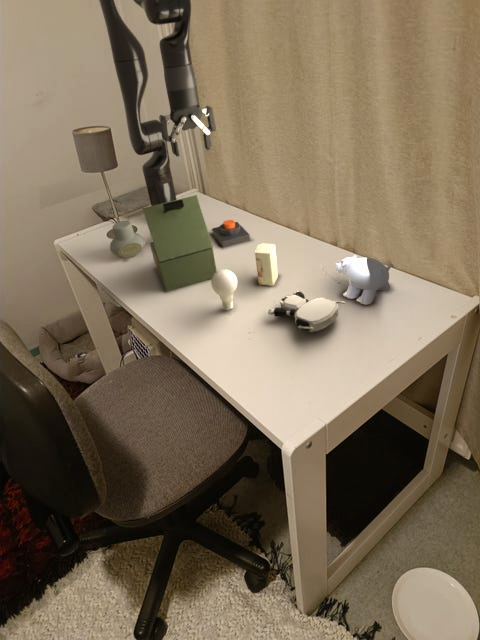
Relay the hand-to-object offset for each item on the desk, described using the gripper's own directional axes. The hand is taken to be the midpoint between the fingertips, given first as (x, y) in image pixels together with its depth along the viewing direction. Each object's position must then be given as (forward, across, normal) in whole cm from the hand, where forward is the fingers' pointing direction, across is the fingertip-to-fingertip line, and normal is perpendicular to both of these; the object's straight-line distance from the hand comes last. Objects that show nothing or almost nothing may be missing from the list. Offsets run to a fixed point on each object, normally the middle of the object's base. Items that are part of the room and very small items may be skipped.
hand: (192, 152), depth 119 cm
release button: (+26, -9, -5) cm, 28 cm away
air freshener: (+30, +23, -13) cm, 40 cm away
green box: (+30, +10, +9) cm, 33 cm away
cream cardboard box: (+30, -9, +25) cm, 40 cm away
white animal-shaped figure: (+30, -28, +41) cm, 58 cm away
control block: (+30, -9, -5) cm, 32 cm away
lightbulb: (+30, +5, +32) cm, 44 cm away
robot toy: (+30, -10, +45) cm, 55 cm away
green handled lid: (+15, +10, +11) cm, 21 cm away
